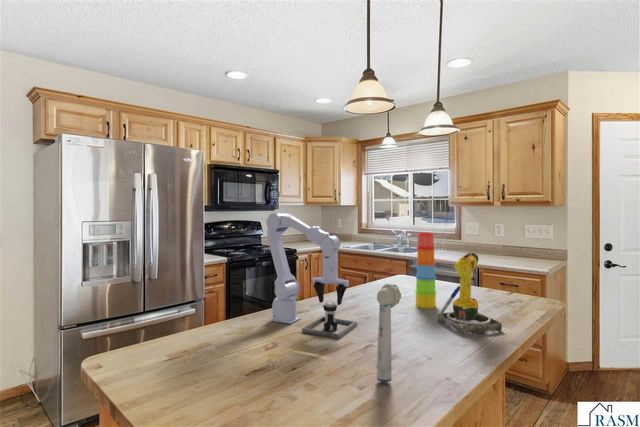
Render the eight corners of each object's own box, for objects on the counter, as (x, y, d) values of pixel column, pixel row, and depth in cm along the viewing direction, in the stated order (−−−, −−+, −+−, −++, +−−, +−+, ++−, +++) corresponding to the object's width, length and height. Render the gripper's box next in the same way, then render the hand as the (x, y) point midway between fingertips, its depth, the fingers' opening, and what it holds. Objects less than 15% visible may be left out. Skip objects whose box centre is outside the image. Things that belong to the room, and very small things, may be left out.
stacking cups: (441, 308, 166) (441, 233, 165) (427, 311, 160) (427, 234, 160) (424, 303, 174) (424, 232, 174) (409, 306, 168) (409, 232, 168)
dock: (302, 332, 133) (302, 328, 132) (323, 320, 148) (323, 316, 148) (338, 339, 126) (338, 334, 126) (357, 325, 141) (357, 321, 141)
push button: (322, 332, 132) (322, 305, 132) (317, 328, 137) (317, 302, 137) (339, 330, 134) (339, 304, 134) (334, 326, 139) (334, 300, 139)
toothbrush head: (371, 378, 96) (371, 285, 96) (386, 370, 101) (386, 281, 101) (387, 385, 92) (387, 288, 92) (402, 376, 97) (402, 284, 97)
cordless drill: (507, 331, 133) (506, 256, 133) (462, 335, 129) (461, 258, 129) (474, 317, 151) (474, 252, 151) (434, 321, 146) (433, 253, 147)
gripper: (308, 267, 136) (308, 303, 136) (343, 270, 130) (343, 308, 130) (317, 265, 142) (317, 299, 143) (351, 267, 136) (350, 303, 136)
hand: (330, 303), depth 137 cm, fingers open, 7 cm apart
